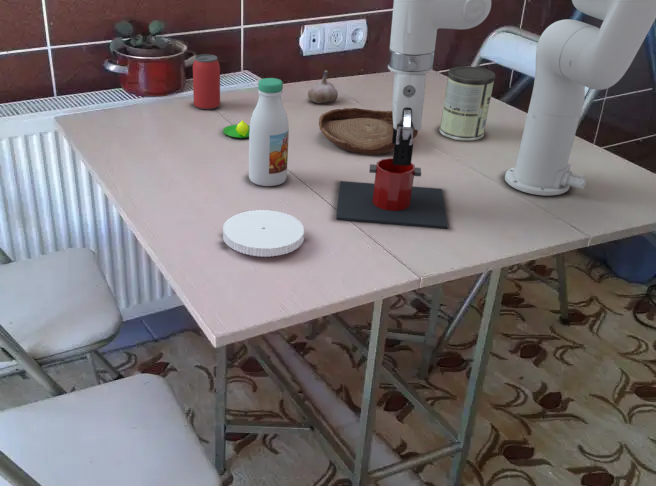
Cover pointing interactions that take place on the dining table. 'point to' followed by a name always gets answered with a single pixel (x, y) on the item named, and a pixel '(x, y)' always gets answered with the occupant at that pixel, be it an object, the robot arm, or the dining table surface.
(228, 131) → the lemon on green saucer
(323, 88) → the garlic bulb
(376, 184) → the pot
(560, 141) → the robot arm
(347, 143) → the basket
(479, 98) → the coffee can
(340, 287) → the dining table surface
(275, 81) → the milk bottle
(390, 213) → the mat
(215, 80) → the beer can
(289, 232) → the plastic lid
